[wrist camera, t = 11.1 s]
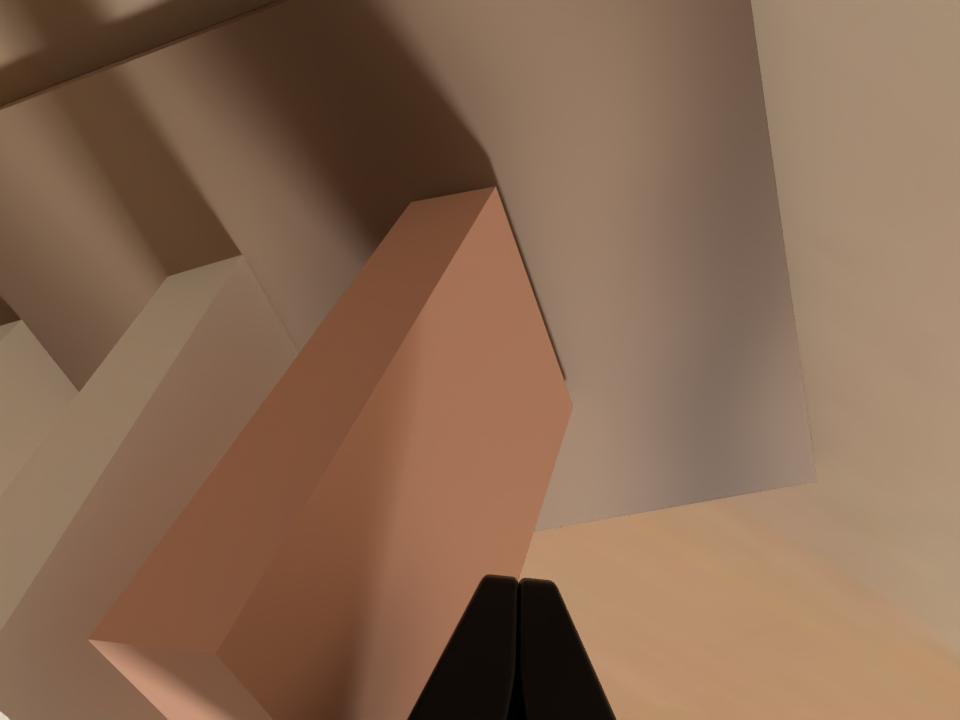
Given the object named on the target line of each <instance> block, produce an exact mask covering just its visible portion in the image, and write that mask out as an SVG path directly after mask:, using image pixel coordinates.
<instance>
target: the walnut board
mask: <svg viewBox="0 0 960 720" xmlns="http://www.w3.org/2000/svg"><path fill="white" fill-rule="evenodd" d="M495 186H496V188H497V191H498V194H499V197H500V200H501V202H502V205H503V208H504V211H505V214H506V217H507V220H508V222H509V225H510V228H511V231H512V234H513V237H514V239H515V242H516V245H517V248H518V251H519V254H520V256H521V259H522V262H523V265H524V268H525V271H526V274H527V276H528V279H529V282H530V285H531V288H532V291H533V293H534V296H535V299H536V302H537V305H538V308H539V310H540V313H541V316H542V319H543V322H544V325H545V328H546V330H547V333H548V336H549V339H550V342H551V345H552V347H553V350H554V353H555V356H556V359H557V362H558V364H559V367H560V370H561V373H562V376H563V379H564V382H565V384H566V387H567V390H568V393H569V396H570V399H571V401H572V404H573V409H572V412H571V415H570V418H569V422H568V425H567V428H566V431H565V434H564V437H563V441H562V444H561V447H560V450H559V453H558V456H557V460H556V463H555V466H554V469H553V472H552V475H551V479H550V482H549V485H548V488H547V491H546V494H545V497H544V501H543V504H542V507H541V510H540V513H539V516H538V520H537V523H536V526H535V529H534V532H535V531H540V530H546V529H552V528H557V527H563V526H568V525H574V524H580V523H585V522H591V521H597V520H602V519H608V518H614V517H619V516H625V515H631V514H636V513H642V512H648V511H653V510H659V509H665V508H670V507H676V506H682V505H687V504H693V503H698V502H704V501H710V500H715V499H721V498H727V497H732V496H738V495H744V494H749V493H755V492H761V491H766V490H772V489H778V488H783V487H789V486H795V485H800V484H806V483H811V482H817V478H816V470H815V463H814V456H813V449H812V441H811V434H810V427H809V420H808V413H807V405H806V398H805V391H804V384H803V376H802V369H801V362H800V355H799V347H798V340H797V333H796V326H795V319H794V311H793V304H792V297H791V290H790V282H789V275H788V268H787V261H786V253H785V246H784V239H783V232H782V225H781V217H780V210H779V203H778V196H777V188H776V181H775V174H774V167H773V159H772V152H771V145H770V138H769V131H768V123H767V116H766V109H765V102H764V94H763V87H762V80H761V73H760V66H759V58H758V51H757V44H756V37H755V29H754V22H753V15H752V8H751V0H280V1H277V2H274V3H272V4H269V5H266V6H264V7H261V8H259V9H256V10H253V11H251V12H248V13H245V14H243V15H240V16H237V17H235V18H232V19H230V20H227V21H224V22H222V23H219V24H216V25H214V26H211V27H208V28H206V29H203V30H201V31H198V32H195V33H193V34H190V35H187V36H185V37H182V38H179V39H177V40H174V41H172V42H169V43H166V44H164V45H161V46H158V47H156V48H153V49H150V50H148V51H145V52H142V53H140V54H137V55H135V56H132V57H129V58H127V59H124V60H121V61H119V62H116V63H113V64H111V65H108V66H106V67H103V68H100V69H98V70H95V71H92V72H90V73H87V74H84V75H82V76H79V77H77V78H74V79H71V80H69V81H66V82H63V83H61V84H58V85H55V86H53V87H50V88H48V89H45V90H42V91H40V92H37V93H34V94H32V95H29V96H26V97H24V98H21V99H18V100H16V101H13V102H11V103H8V104H5V105H3V106H0V326H2V325H5V324H8V323H12V322H15V321H19V320H22V321H23V322H24V323H25V324H26V326H27V327H28V328H29V330H30V331H31V332H32V333H33V335H34V336H35V337H36V338H37V340H38V341H39V342H40V343H41V345H42V346H43V347H44V348H45V350H46V351H47V352H48V354H49V355H50V356H51V357H52V359H53V360H54V361H55V362H56V364H57V365H58V366H59V367H60V369H61V370H62V371H63V372H64V374H65V375H66V376H67V378H68V379H69V380H70V381H71V383H72V384H73V385H74V386H75V388H76V389H77V390H78V391H79V392H80V391H81V389H82V388H83V387H84V386H85V384H86V383H87V382H88V380H89V379H90V378H91V376H92V375H93V374H94V372H95V371H96V370H97V368H98V367H99V366H100V365H101V363H102V362H103V361H104V359H105V358H106V357H107V355H108V354H109V353H110V351H111V350H112V349H113V347H114V346H115V345H116V344H117V342H118V341H119V340H120V338H121V337H122V336H123V334H124V333H125V332H126V330H127V329H128V328H129V326H130V325H131V324H132V323H133V321H134V320H135V319H136V317H137V316H138V315H139V313H140V312H141V311H142V309H143V308H144V307H145V305H146V304H147V303H148V302H149V300H150V299H151V298H152V296H153V295H154V294H155V292H156V291H157V290H158V288H159V287H160V286H161V284H162V283H163V282H164V281H165V279H166V278H167V277H168V276H171V275H174V274H178V273H181V272H185V271H188V270H192V269H195V268H198V267H202V266H205V265H209V264H212V263H215V262H219V261H222V260H226V259H229V258H232V257H236V256H239V255H243V257H244V259H245V261H246V262H247V264H248V266H249V268H250V269H251V271H252V273H253V274H254V276H255V278H256V280H257V281H258V283H259V285H260V287H261V288H262V290H263V292H264V294H265V295H266V297H267V299H268V301H269V302H270V304H271V306H272V308H273V309H274V311H275V313H276V315H277V316H278V318H279V320H280V322H281V323H282V325H283V327H284V329H285V330H286V332H287V334H288V335H289V337H290V339H291V341H292V342H293V344H294V346H295V348H296V349H297V351H298V353H300V351H301V350H302V349H303V347H304V346H305V345H306V343H307V342H308V341H309V339H310V338H311V337H312V335H313V334H314V332H315V331H316V330H317V328H318V327H319V326H320V324H321V323H322V322H323V320H324V319H325V318H326V316H327V315H328V314H329V312H330V311H331V309H332V308H333V307H334V305H335V304H336V303H337V301H338V300H339V299H340V297H341V296H342V295H343V293H344V292H345V291H346V289H347V288H348V287H349V285H350V284H351V282H352V281H353V280H354V278H355V277H356V276H357V274H358V273H359V272H360V270H361V269H362V268H363V266H364V265H365V264H366V262H367V261H368V259H369V258H370V257H371V255H372V254H373V253H374V251H375V250H376V249H377V247H378V246H379V245H380V243H381V242H382V241H383V239H384V238H385V237H386V235H387V234H388V232H389V231H390V230H391V228H392V227H393V226H394V224H395V223H396V222H397V220H398V219H399V218H400V216H401V215H402V214H403V212H404V211H405V209H406V208H407V207H408V205H409V204H410V203H411V202H414V201H420V200H425V199H430V198H436V197H441V196H447V195H452V194H457V193H463V192H468V191H473V190H479V189H484V188H490V187H495Z"/></svg>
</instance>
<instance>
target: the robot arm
mask: <svg viewBox="0 0 960 720" xmlns="http://www.w3.org/2000/svg"><path fill="white" fill-rule="evenodd" d="M407 720H616V717H615V715H614V713H613V711H612V708H611V706H610V704H609V702H608V699H607V697H606V695H605V693H604V690H603V688H602V686H601V684H600V681H599V679H598V677H597V675H596V672H595V670H594V668H593V666H592V664H591V661H590V659H589V657H588V655H587V652H586V650H585V648H584V646H583V643H582V641H581V639H580V637H579V634H578V632H577V630H576V628H575V625H574V623H573V621H572V619H571V616H570V614H569V612H568V610H567V607H566V605H565V603H564V601H563V599H562V596H561V594H560V592H559V590H558V588H557V586H556V585H555V583H554V582H552V581H550V580H542V579H532V578H523V579H521V580H520V582H519V584H518V580H517V579H516V578H515V577H512V576H503V575H493V574H487V575H485V576H484V577H483V578H482V579H481V581H480V583H479V584H478V586H477V588H476V590H475V592H474V594H473V596H472V598H471V599H470V601H469V603H468V605H467V607H466V609H465V611H464V613H463V615H462V616H461V618H460V620H459V622H458V624H457V626H456V628H455V630H454V632H453V633H452V635H451V637H450V639H449V641H448V643H447V645H446V647H445V649H444V650H443V652H442V654H441V656H440V658H439V660H438V662H437V664H436V666H435V667H434V669H433V671H432V673H431V675H430V677H429V679H428V681H427V682H426V684H425V686H424V688H423V690H422V692H421V694H420V696H419V698H418V699H417V701H416V703H415V705H414V707H413V709H412V711H411V713H410V715H409V716H408V718H407Z"/></svg>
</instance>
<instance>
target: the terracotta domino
mask: <svg viewBox="0 0 960 720" xmlns="http://www.w3.org/2000/svg"><path fill="white" fill-rule="evenodd" d="M572 409H573V404H572V401H571V399H570V396H569V393H568V390H567V387H566V384H565V382H564V379H563V376H562V373H561V370H560V367H559V364H558V362H557V359H556V356H555V353H554V350H553V347H552V345H551V342H550V339H549V336H548V333H547V330H546V328H545V325H544V322H543V319H542V316H541V313H540V310H539V308H538V305H537V302H536V299H535V296H534V293H533V291H532V288H531V285H530V282H529V279H528V276H527V274H526V271H525V268H524V265H523V262H522V259H521V256H520V254H519V251H518V248H517V245H516V242H515V239H514V237H513V234H512V231H511V228H510V225H509V222H508V220H507V217H506V214H505V211H504V208H503V205H502V202H501V200H500V197H499V194H498V191H497V188H496V186H495V187H490V188H484V189H479V190H473V191H468V192H463V193H457V194H452V195H447V196H441V197H436V198H430V199H425V200H420V201H414V202H411V203H410V204H409V205H408V207H407V208H406V209H405V211H404V212H403V214H402V215H401V216H400V218H399V219H398V220H397V222H396V223H395V224H394V226H393V227H392V228H391V230H390V231H389V232H388V234H387V235H386V237H385V238H384V239H383V241H382V242H381V243H380V245H379V246H378V247H377V249H376V250H375V251H374V253H373V254H372V255H371V257H370V258H369V259H368V261H367V262H366V264H365V265H364V266H363V268H362V269H361V270H360V272H359V273H358V274H357V276H356V277H355V278H354V280H353V281H352V282H351V284H350V285H349V287H348V288H347V289H346V291H345V292H344V293H343V295H342V296H341V297H340V299H339V300H338V301H337V303H336V304H335V305H334V307H333V308H332V309H331V311H330V312H329V314H328V315H327V316H326V318H325V319H324V320H323V322H322V323H321V324H320V326H319V327H318V328H317V330H316V331H315V332H314V334H313V335H312V337H311V338H310V339H309V341H308V342H307V343H306V345H305V346H304V347H303V349H302V350H301V351H300V353H299V354H298V355H297V357H296V358H295V359H294V361H293V362H292V364H291V365H290V366H289V368H288V369H287V370H286V372H285V373H284V374H283V376H282V377H281V378H280V380H279V381H278V382H277V384H276V385H275V387H274V388H273V389H272V391H271V392H270V393H269V395H268V396H267V397H266V399H265V400H264V401H263V403H262V404H261V405H260V407H259V408H258V409H257V411H256V412H255V414H254V415H253V416H252V418H251V419H250V420H249V422H248V423H247V424H246V426H245V427H244V428H243V430H242V431H241V432H240V434H239V435H238V437H237V438H236V439H235V441H234V442H233V443H232V445H231V446H230V447H229V449H228V450H227V451H226V453H225V454H224V455H223V457H222V458H221V459H220V461H219V462H218V464H217V465H216V466H215V468H214V469H213V470H212V472H211V473H210V474H209V476H208V477H207V478H206V480H205V481H204V482H203V484H202V485H201V487H200V488H199V489H198V491H197V492H196V493H195V495H194V496H193V497H192V499H191V500H190V501H189V503H188V504H187V505H186V507H185V508H184V509H183V511H182V512H181V514H180V515H179V516H178V518H177V519H176V520H175V522H174V523H173V524H172V526H171V527H170V528H169V530H168V531H167V532H166V534H165V535H164V537H163V538H162V539H161V541H160V542H159V543H158V545H157V546H156V547H155V549H154V550H153V551H152V553H151V554H150V555H149V557H148V558H147V559H146V561H145V562H144V564H143V565H142V566H141V568H140V569H139V570H138V572H137V573H136V574H135V576H134V577H133V578H132V580H131V581H130V582H129V584H128V585H127V587H126V588H125V589H124V591H123V592H122V593H121V595H120V596H119V597H118V599H117V600H116V601H115V603H114V604H113V605H112V607H111V608H110V609H109V611H108V612H107V614H106V615H105V616H104V618H103V619H102V620H101V622H100V623H99V624H98V626H97V627H96V628H95V630H94V631H93V632H92V634H91V635H90V637H89V638H88V639H87V640H88V641H89V642H90V643H91V644H92V645H94V646H95V647H96V648H97V649H98V650H99V651H100V652H101V653H102V654H103V655H104V656H105V657H106V658H107V659H108V660H109V661H110V662H111V663H112V664H113V665H114V666H115V667H116V668H117V669H118V670H119V671H120V672H121V673H122V674H123V675H124V676H125V677H126V678H127V679H128V680H129V681H130V682H131V683H132V684H133V685H134V686H135V687H136V688H137V689H138V690H139V691H140V692H141V693H142V694H143V695H144V696H145V697H146V698H147V699H148V700H149V701H150V702H151V703H152V704H153V705H154V706H155V707H156V708H157V709H158V710H159V711H160V712H161V713H162V714H163V715H164V716H165V717H166V718H167V719H168V720H407V718H408V716H409V715H410V713H411V711H412V709H413V707H414V705H415V703H416V701H417V699H418V698H419V696H420V694H421V692H422V690H423V688H424V686H425V684H426V682H427V681H428V679H429V677H430V675H431V673H432V671H433V669H434V667H435V666H436V664H437V662H438V660H439V658H440V656H441V654H442V652H443V650H444V649H445V647H446V645H447V643H448V641H449V639H450V637H451V635H452V633H453V632H454V630H455V628H456V626H457V624H458V622H459V620H460V618H461V616H462V615H463V613H464V611H465V609H466V607H467V605H468V603H469V601H470V599H471V598H472V596H473V594H474V592H475V590H476V588H477V586H478V584H479V583H480V581H481V579H482V578H483V577H484V576H485V575H487V574H493V575H503V576H512V577H515V578H516V579H517V580H519V577H520V573H521V570H522V567H523V564H524V561H525V558H526V554H527V551H528V548H529V545H530V542H531V539H532V535H533V532H534V529H535V526H536V523H537V520H538V516H539V513H540V510H541V507H542V504H543V501H544V497H545V494H546V491H547V488H548V485H549V482H550V479H551V475H552V472H553V469H554V466H555V463H556V460H557V456H558V453H559V450H560V447H561V444H562V441H563V437H564V434H565V431H566V428H567V425H568V422H569V418H570V415H571V412H572Z"/></svg>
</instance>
